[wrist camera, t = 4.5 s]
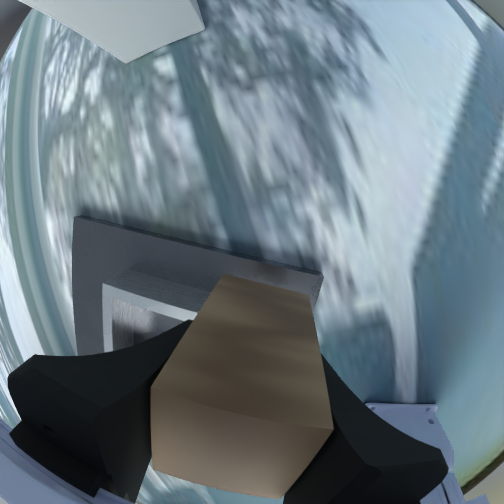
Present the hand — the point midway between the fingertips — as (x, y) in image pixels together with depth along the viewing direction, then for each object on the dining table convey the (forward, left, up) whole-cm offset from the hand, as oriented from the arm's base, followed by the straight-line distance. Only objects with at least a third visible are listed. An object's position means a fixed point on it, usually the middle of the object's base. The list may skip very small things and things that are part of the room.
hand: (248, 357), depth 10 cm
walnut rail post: (0, 0, -3) cm, 3 cm away
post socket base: (+6, +6, -10) cm, 13 cm away
